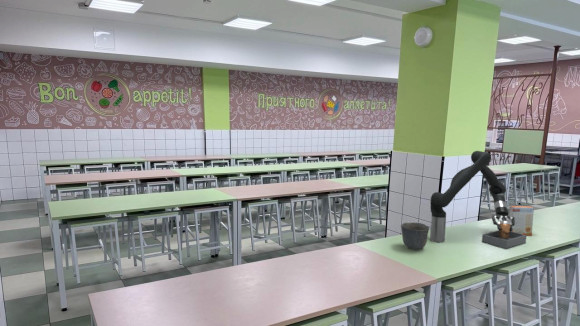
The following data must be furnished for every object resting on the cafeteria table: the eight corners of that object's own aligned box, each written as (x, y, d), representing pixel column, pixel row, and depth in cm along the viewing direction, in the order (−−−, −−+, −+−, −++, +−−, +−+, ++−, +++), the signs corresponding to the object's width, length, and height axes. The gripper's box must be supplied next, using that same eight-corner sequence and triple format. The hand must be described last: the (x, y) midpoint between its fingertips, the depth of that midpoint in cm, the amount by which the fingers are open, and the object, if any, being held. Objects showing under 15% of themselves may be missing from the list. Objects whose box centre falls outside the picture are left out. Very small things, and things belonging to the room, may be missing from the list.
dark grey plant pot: (431, 254, 219) (432, 230, 218) (401, 252, 223) (402, 229, 221) (426, 244, 237) (427, 222, 235) (398, 243, 240) (399, 221, 238)
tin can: (500, 240, 239) (501, 221, 238) (497, 237, 245) (498, 219, 244) (510, 241, 238) (511, 222, 236) (507, 238, 244) (508, 219, 242)
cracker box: (527, 233, 262) (529, 205, 259) (532, 236, 256) (534, 207, 253) (507, 232, 263) (509, 205, 261) (511, 235, 257) (513, 207, 255)
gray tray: (505, 249, 229) (506, 241, 228) (481, 242, 242) (482, 234, 242) (525, 243, 241) (526, 235, 240) (501, 236, 255) (502, 229, 254)
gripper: (491, 205, 248) (495, 226, 238) (514, 206, 244) (519, 228, 234) (488, 211, 254) (492, 232, 244) (511, 212, 250) (515, 233, 240)
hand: (505, 230), depth 239 cm, fingers closed on tin can, 6 cm apart
